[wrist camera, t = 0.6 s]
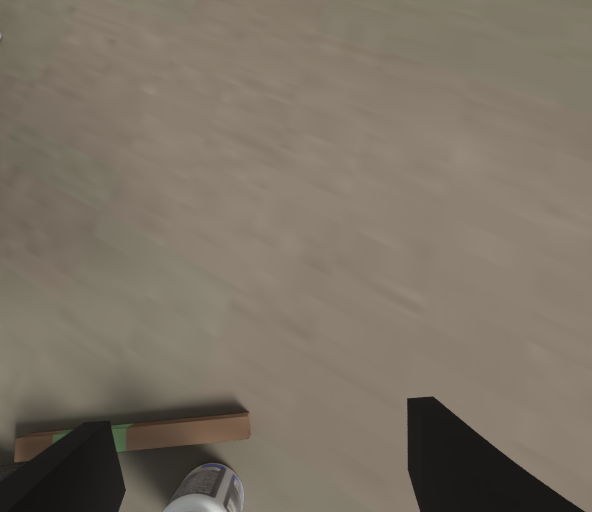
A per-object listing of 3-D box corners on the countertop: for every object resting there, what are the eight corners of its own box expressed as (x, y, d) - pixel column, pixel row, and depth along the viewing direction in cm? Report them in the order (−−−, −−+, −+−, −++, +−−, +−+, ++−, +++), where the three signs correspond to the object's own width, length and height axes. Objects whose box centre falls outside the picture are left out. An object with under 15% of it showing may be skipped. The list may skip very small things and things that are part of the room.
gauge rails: (258, 581, 26) (256, 596, 24) (18, 610, 25) (2, 627, 23) (249, 412, 28) (247, 416, 26) (30, 433, 27) (15, 438, 26)
